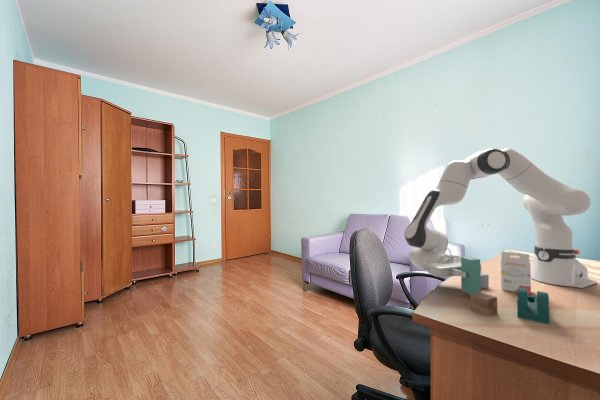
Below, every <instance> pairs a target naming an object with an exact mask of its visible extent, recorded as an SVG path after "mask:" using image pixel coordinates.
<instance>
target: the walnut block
mask: <svg viewBox="0 0 600 400" xmlns="http://www.w3.org/2000/svg"><path fill="white" fill-rule="evenodd" d="M469 296H470V299H469V301H470V302H469V303H470V305H469V306H470V308H469V310H470V311H472V312H475V313H477V314H481V315H483V316H485V315H486V317H489V315H490V316H493V315H496V314H498V296H496V295H495V296H494V295H492V294H489V293H485V292H481V291H480V292H477V293H473V294H469Z"/></svg>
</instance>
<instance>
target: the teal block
mask: <svg viewBox="0 0 600 400" xmlns="http://www.w3.org/2000/svg"><path fill="white" fill-rule="evenodd" d="M480 264H481V259H480V258H476V257H472V256H464V257H462V256H461V271H465V272H468V277H461V276H460V277H461V278H460V279H461V281H460V283H461V287H460V288H461V289H460V290H461V291H462V292H464V293H466V294H469V295H470V294H473V293H477V292H481V288H480Z"/></svg>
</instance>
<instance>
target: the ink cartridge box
mask: <svg viewBox="0 0 600 400" xmlns="http://www.w3.org/2000/svg"><path fill="white" fill-rule="evenodd" d="M513 256H516V257H513ZM500 274H501V275H500V276H501V277H500V279H501V280H500V281H501V282H500V285H501V290H503V291H509V292H514V293H517V288H522V289H527V295H531V292H532V291H531V289H532V287H531V286H532V285H531V284H532V283H531V282H532V281H531V279H532V278H531V261H530V254H528V253H520V252H510V251H502V252H501V259H500Z"/></svg>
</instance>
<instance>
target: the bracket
mask: <svg viewBox="0 0 600 400" xmlns="http://www.w3.org/2000/svg"><path fill="white" fill-rule="evenodd" d="M516 294H517V297H516V298H517V302H516V303H517V304H516V307H517V308H516V310H517V312H516V313H517V314H516V315H517V318H519V319H524V320H530V321H534V322H538V323H541V324H547V325H549V324H550V299H549V292H544V291H538V290H537V291H536V296H535V295H531V294H527V289H522V288H517V292H516Z"/></svg>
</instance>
